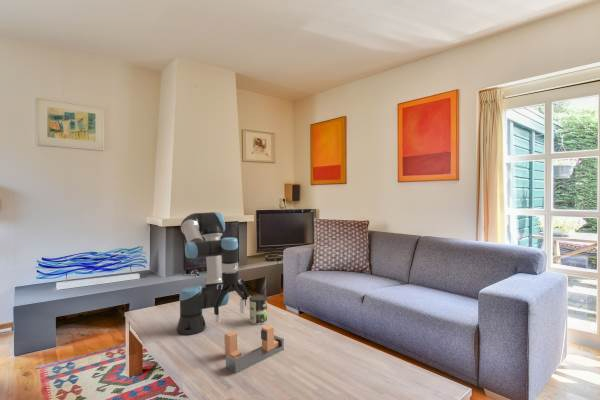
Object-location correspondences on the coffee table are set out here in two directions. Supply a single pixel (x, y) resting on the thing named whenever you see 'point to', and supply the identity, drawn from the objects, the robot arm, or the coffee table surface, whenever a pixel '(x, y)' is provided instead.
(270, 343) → the fixed finger
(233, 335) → the block
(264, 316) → the coffee can
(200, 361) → the coffee table surface
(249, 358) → the rail
